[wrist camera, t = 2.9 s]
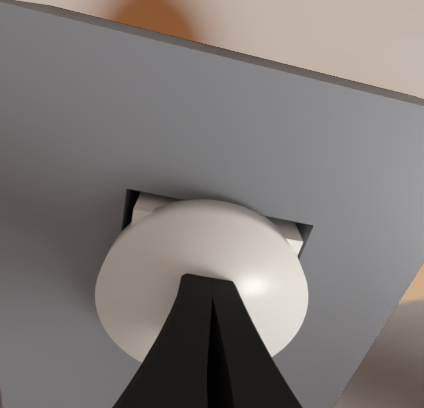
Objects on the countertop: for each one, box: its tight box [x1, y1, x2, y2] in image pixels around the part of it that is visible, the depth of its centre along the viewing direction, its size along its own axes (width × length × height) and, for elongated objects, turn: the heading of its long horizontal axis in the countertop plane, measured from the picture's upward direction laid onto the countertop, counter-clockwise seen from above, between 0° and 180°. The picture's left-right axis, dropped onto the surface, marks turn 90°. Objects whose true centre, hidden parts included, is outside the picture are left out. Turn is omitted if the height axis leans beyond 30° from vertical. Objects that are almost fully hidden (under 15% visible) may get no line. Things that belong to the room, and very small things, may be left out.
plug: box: [95, 191, 308, 362], centre depth 11 cm, size 6×6×5 cm
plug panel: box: [0, 0, 424, 408], centre depth 14 cm, size 12×24×4 cm, turn 167°
